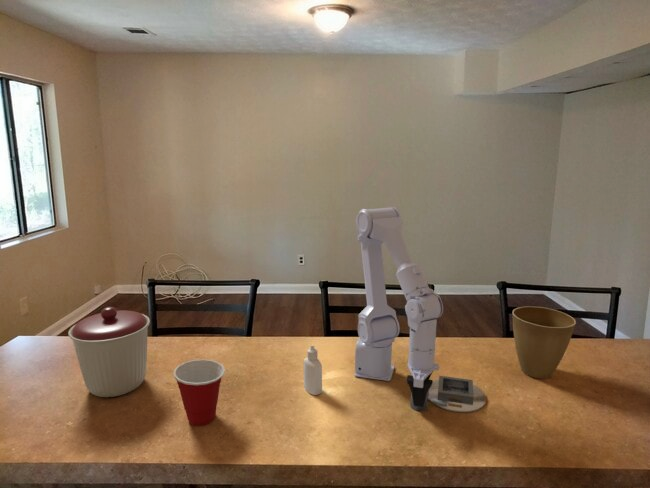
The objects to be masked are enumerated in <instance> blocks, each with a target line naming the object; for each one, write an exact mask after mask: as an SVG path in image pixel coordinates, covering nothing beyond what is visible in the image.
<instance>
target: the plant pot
mask: <svg viewBox="0 0 650 488" xmlns="http://www.w3.org/2000/svg"><path fill="white" fill-rule="evenodd" d="M511 314H512V331H513V339H514V345H515V350H516V355H517V359H518V363H519V366H520V370H521V371H522V372H523V374H525V375H526V376H529V377H531V378H534V379H541V380H543V379H549V378H551V377H552V376H553V374H554V373H555V372H556V370H557V368H558V366H559V364H560V363H561V361H562V360H563V357H564V355H565V353H566V351H567V349H568V346H569V344H570V341H571V340H572V339H571V338H572V337H573V333H574V330H575V327H576V324H577V322H576V319H575V318H574V317H572V316H571V315H569V314H568V313H565V312H562V311H561V310H560V311H559V310H558V309H553V308H550V307H549V308H548V307H543V306H519V307H516V308H514V309H513V310H512V313H511Z"/></svg>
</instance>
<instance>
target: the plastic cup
mask: <svg viewBox="0 0 650 488" xmlns="http://www.w3.org/2000/svg"><path fill="white" fill-rule="evenodd" d="M225 372H226V369H225V366H224V365H223V364H222V363H220V362H218V361H216V360H212V359H192V360H189V361H185V362H183V363H180V364H179V365H178V366H176V367H175V369H174V370H173V377H174V379H175V381H176V383H177V385H178V389H179V391H180V396H181V400H182V404H183V408H184V410H185V414H186V417H187V421H188V423H189V424H190V425H192V426H198V427H200V426H201V427H202V426H205V425H206V426H207V425H208V424H210V423H212V422H213V421H214V420H215V417H216V415H217V405H218V402H219V394H220V386H221V383H222V379H223V377H224V374H225Z"/></svg>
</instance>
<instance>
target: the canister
mask: <svg viewBox="0 0 650 488" xmlns="http://www.w3.org/2000/svg"><path fill="white" fill-rule="evenodd" d="M100 311H101V312H100V313H99V312H98V313H96V314H93V315H90V316H88V317H85V318H83V319H82V320H80V321H78V322H77V323H76V324H74V325H72V326H71V327H70V328H69V330H68V332H67V333H68V334H67V335H68V337H69V338H70V339H71V340H72V343H73V346H74V351H75V353H76V357H77V360H78V364H79V368H80V371H81V375H82V378H83V381H84V385H85V387H86V389H87V390H88V392H89V393H90V394H92V395H94V396H96V397H100V398H109V397H110V398H114V397H120V396H122V395H125V394H128V393H130V392H132V391H135V390H136V389H137V388H138V387H140V386H141V384H142V383H143V382H144V380H145V377H146V373H147V362H148V361H147V360H148V357H147V356H148V327H149V326H150V324H151V320H150V318H149V316H147V315H146V314H144V313H140V312H137V311H134V310H124V309H122V310H117V308H115V307H114V306H105V307H104V308H103V309H102V310H100Z"/></svg>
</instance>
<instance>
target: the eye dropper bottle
mask: <svg viewBox="0 0 650 488" xmlns="http://www.w3.org/2000/svg"><path fill="white" fill-rule="evenodd" d="M303 388H304V389H305V391H306V392H307V393H309V394H310V395H313V396H318V395H320V394H322V393H323V367H322V363H321V361H320V359H319V358H318V349H317V348H315V345H314V344H311V345H310V347H309V348H308V349H307V357H305V358H304V359H303Z"/></svg>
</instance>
